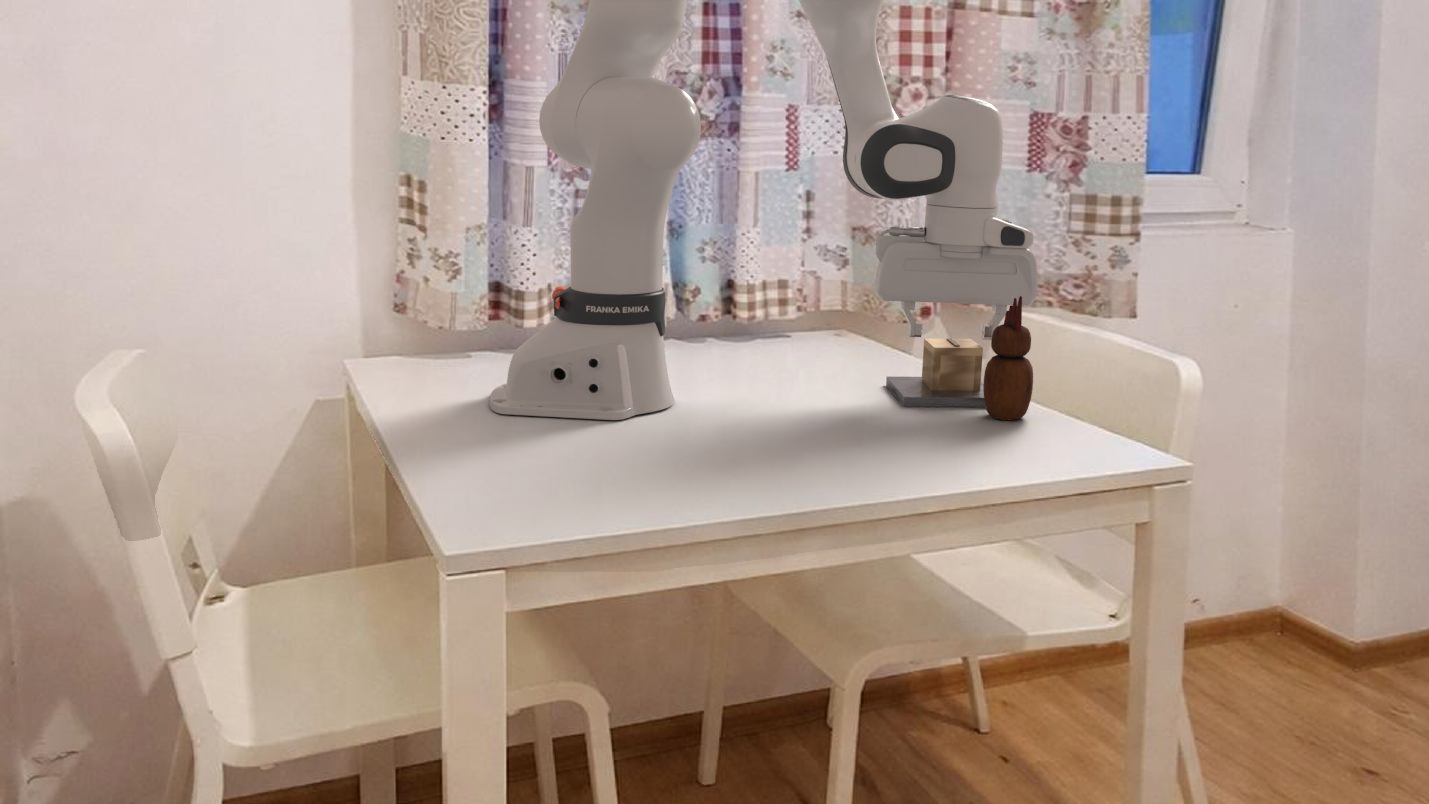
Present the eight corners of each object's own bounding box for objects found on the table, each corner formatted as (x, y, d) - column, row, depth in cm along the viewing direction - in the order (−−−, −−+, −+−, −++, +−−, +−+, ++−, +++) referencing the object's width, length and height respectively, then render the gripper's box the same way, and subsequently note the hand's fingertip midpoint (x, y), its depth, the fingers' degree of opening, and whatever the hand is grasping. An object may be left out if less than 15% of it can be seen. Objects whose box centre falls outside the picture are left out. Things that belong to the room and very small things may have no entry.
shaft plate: (903, 406, 163) (905, 365, 162) (886, 385, 175) (888, 346, 174) (998, 407, 164) (1001, 366, 163) (975, 386, 176) (977, 347, 174)
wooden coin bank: (931, 390, 167) (934, 346, 166) (921, 379, 173) (924, 337, 172) (980, 390, 167) (983, 346, 166) (968, 380, 174) (971, 337, 172)
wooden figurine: (1031, 425, 155) (1040, 299, 152) (981, 422, 156) (989, 296, 153) (1029, 412, 162) (1038, 290, 158) (981, 409, 163) (989, 288, 159)
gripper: (881, 228, 162) (874, 339, 165) (1046, 234, 163) (1035, 345, 166) (873, 223, 168) (866, 330, 171) (1032, 229, 169) (1022, 336, 172)
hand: (951, 337), depth 168 cm, fingers open, 8 cm apart
